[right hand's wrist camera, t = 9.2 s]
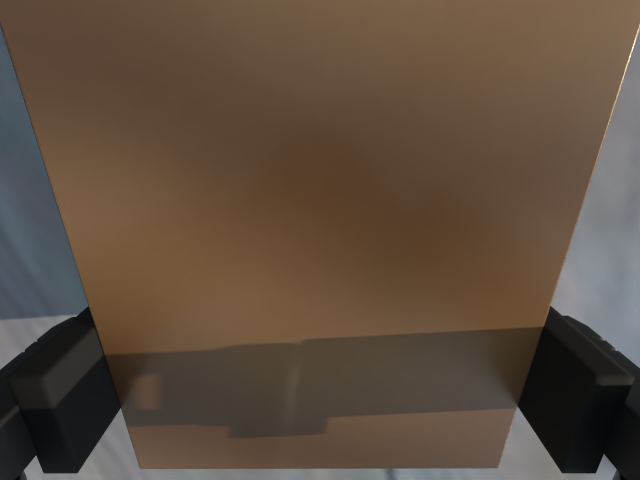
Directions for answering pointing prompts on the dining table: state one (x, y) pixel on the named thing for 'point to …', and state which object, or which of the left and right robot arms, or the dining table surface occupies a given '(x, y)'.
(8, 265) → the dining table surface
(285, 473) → the dining table surface
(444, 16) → the cabinet
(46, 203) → the dining table surface
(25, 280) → the dining table surface
